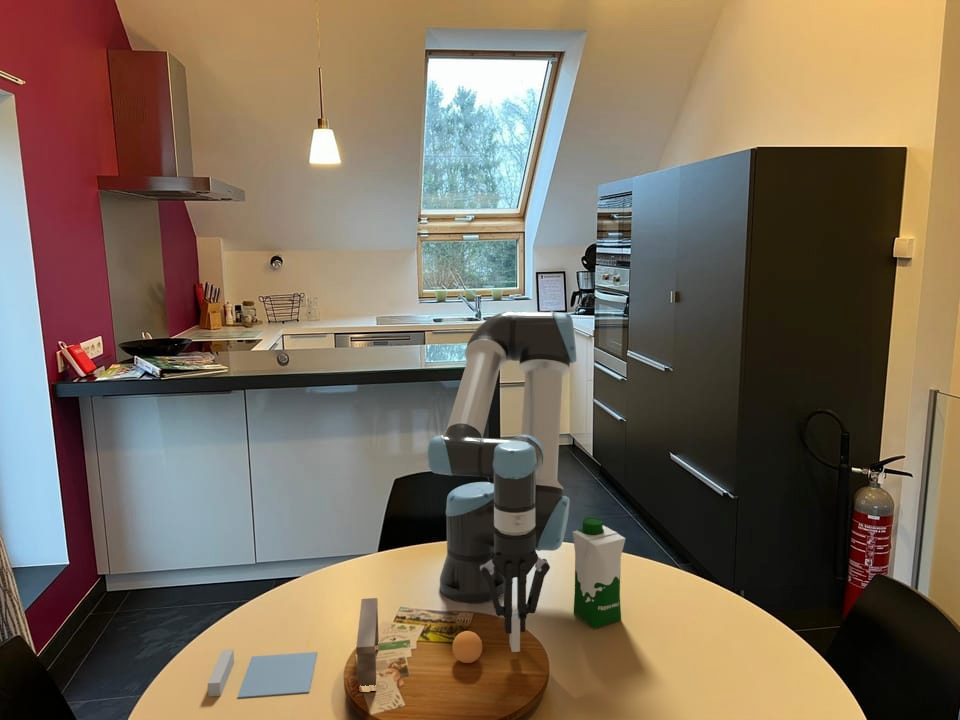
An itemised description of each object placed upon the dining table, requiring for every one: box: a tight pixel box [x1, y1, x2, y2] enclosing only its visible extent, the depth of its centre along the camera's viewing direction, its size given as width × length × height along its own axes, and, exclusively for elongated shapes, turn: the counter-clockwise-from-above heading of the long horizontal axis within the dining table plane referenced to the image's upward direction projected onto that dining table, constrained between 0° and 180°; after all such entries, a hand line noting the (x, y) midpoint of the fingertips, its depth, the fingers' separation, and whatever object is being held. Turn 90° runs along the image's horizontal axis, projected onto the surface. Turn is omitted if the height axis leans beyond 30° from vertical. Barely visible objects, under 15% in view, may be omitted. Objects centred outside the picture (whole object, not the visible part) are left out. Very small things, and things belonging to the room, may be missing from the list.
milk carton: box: [572, 517, 626, 629], centre depth 143 cm, size 9×9×20 cm
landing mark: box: [237, 651, 318, 699], centre depth 127 cm, size 12×12×1 cm
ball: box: [452, 630, 483, 664], centre depth 130 cm, size 6×6×6 cm
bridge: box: [355, 597, 380, 686], centre depth 128 cm, size 3×16×9 cm, turn 6°
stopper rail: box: [207, 648, 235, 698], centre depth 125 cm, size 10×2×2 cm, turn 6°
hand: (514, 647), depth 131 cm, fingers closed
